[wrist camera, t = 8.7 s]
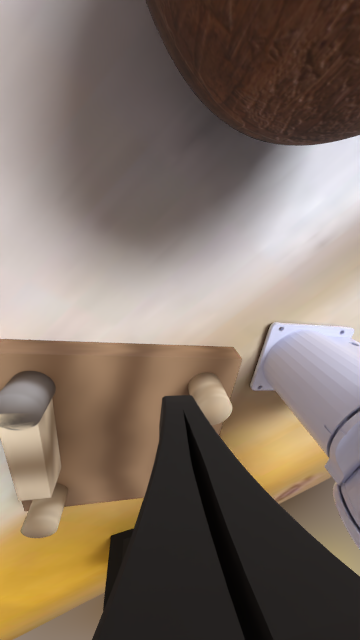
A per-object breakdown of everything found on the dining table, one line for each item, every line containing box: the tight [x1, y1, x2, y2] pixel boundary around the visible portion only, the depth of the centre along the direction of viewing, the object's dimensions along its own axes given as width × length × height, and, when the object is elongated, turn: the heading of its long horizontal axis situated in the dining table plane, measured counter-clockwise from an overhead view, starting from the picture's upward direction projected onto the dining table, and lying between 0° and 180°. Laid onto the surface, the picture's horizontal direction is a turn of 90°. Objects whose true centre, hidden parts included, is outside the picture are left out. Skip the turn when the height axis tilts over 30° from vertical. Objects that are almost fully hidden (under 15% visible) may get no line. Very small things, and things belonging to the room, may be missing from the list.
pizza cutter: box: [0, 371, 61, 501], centre depth 17 cm, size 12×3×2 cm, turn 172°
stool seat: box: [0, 339, 242, 538], centre depth 20 cm, size 20×20×5 cm
